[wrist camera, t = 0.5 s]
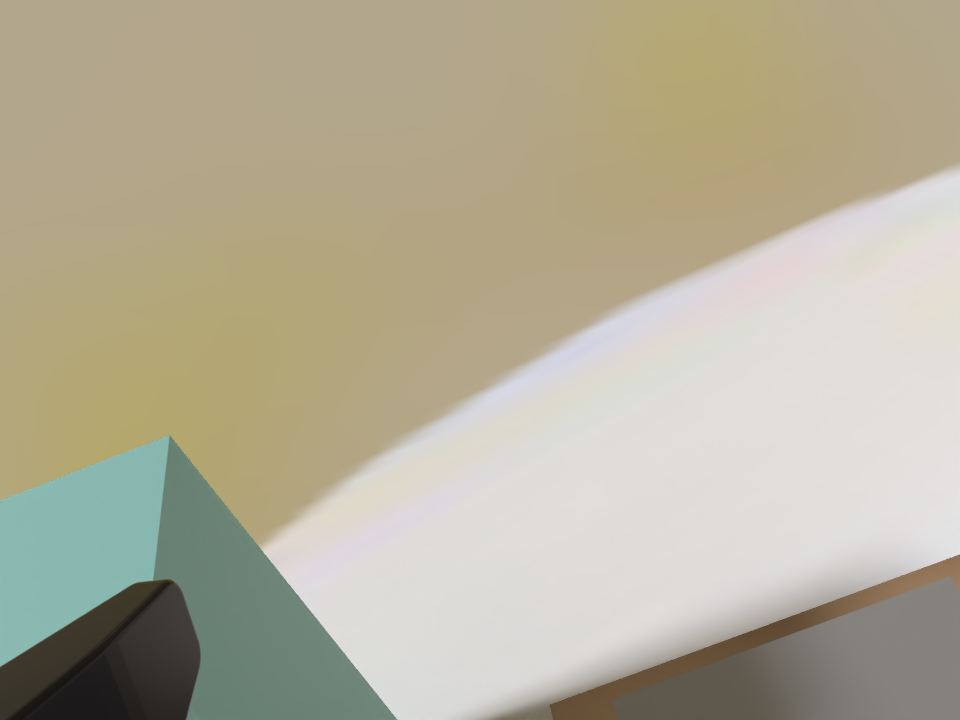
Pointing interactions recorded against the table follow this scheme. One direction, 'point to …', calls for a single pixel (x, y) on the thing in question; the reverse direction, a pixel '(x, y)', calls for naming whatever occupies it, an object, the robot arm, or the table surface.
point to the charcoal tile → (829, 670)
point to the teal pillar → (189, 562)
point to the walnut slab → (747, 642)
